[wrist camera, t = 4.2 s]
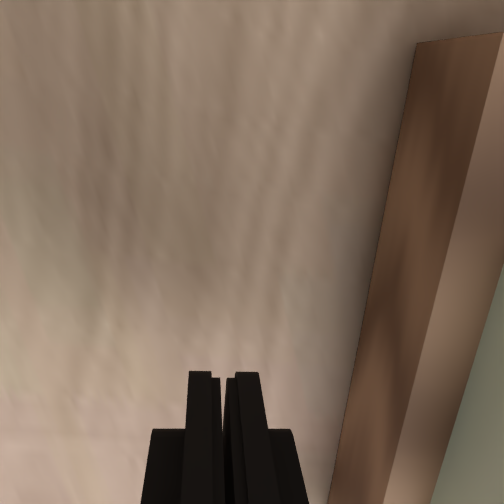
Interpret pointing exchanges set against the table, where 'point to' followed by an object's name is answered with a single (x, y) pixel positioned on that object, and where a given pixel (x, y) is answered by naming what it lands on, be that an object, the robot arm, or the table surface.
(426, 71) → the brown wooden flat block
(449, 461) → the block
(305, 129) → the table surface
